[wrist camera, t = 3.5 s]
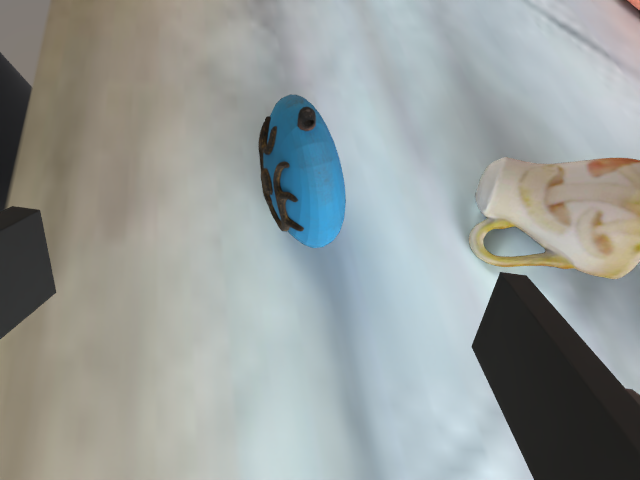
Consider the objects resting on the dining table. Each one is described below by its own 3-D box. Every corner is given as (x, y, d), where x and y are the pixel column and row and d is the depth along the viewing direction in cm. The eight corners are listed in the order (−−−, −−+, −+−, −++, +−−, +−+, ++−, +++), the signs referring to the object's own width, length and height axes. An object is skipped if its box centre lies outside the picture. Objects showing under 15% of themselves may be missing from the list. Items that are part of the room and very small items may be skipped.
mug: (467, 153, 29) (627, 74, 21) (536, 240, 31) (701, 200, 24) (438, 221, 25) (623, 156, 17) (520, 314, 27) (713, 296, 19)
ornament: (251, 162, 27) (228, 48, 18) (314, 147, 28) (325, 30, 18) (284, 272, 25) (279, 209, 15) (352, 252, 25) (387, 180, 16)
